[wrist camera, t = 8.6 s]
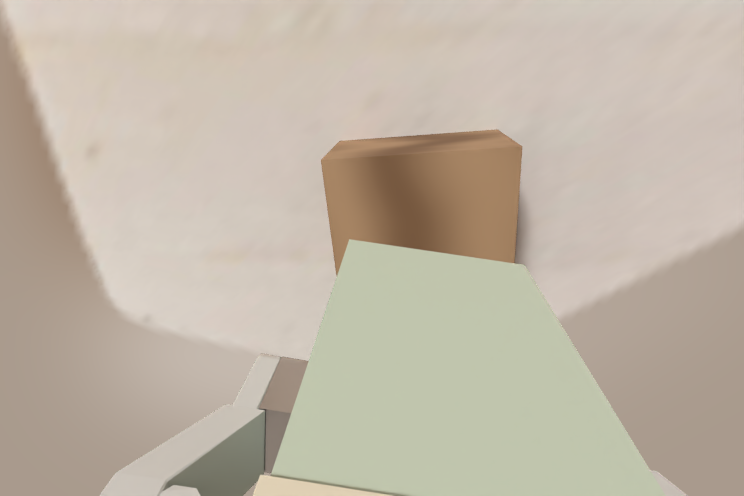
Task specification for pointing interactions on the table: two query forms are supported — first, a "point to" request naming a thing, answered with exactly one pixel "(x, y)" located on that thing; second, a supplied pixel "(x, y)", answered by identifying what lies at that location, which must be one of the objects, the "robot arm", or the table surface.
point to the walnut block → (426, 193)
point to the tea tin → (448, 390)
